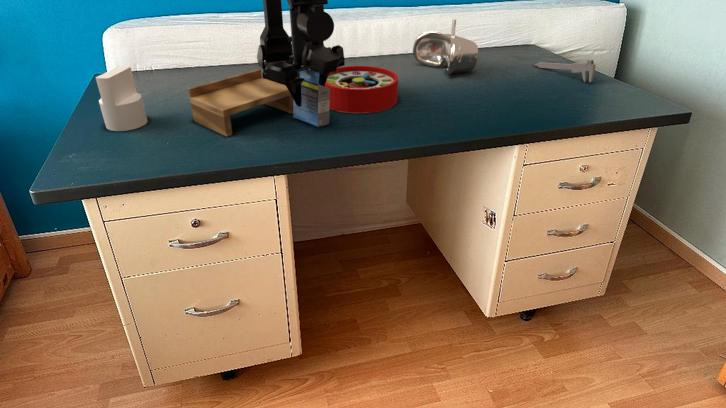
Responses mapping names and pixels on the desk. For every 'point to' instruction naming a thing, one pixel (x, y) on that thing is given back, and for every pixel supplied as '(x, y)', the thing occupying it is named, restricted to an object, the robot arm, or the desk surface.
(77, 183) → the desk surface
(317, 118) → the label tape box
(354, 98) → the toy clock
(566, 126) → the desk surface
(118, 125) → the cylinder with rectangular tab
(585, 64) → the caliper
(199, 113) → the shelf
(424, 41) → the silver curved metal piece
